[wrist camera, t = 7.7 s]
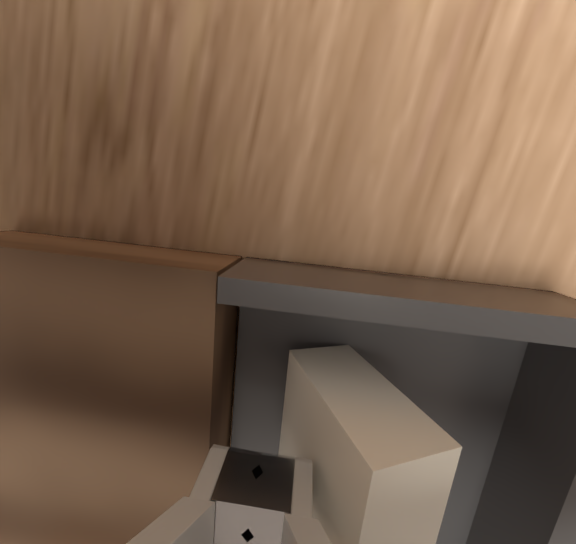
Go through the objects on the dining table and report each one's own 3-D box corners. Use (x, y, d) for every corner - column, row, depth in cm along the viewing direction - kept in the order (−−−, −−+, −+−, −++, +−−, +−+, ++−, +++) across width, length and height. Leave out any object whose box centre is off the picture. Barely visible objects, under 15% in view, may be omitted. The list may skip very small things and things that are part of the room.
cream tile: (373, 471, 6) (462, 446, 6) (289, 349, 10) (348, 344, 11) (339, 641, 7) (420, 600, 8) (277, 462, 11) (332, 449, 12)
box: (246, 256, 11) (217, 276, 8) (552, 291, 11) (667, 329, 7) (221, 633, 16) (196, 746, 13) (431, 674, 15) (465, 807, 12)
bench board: (11, 230, 12) (-87, 236, 9) (241, 256, 11) (216, 272, 8) (54, 599, 17) (0, 682, 14) (217, 632, 16) (197, 725, 13)
